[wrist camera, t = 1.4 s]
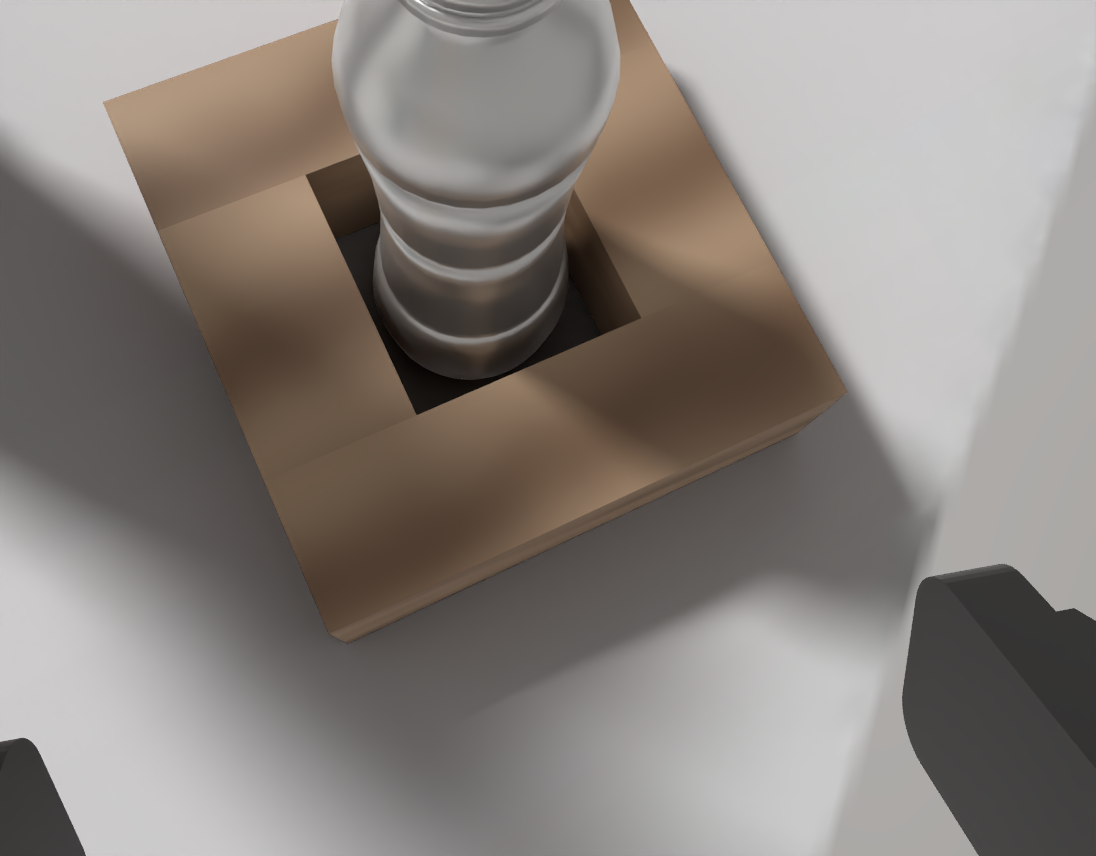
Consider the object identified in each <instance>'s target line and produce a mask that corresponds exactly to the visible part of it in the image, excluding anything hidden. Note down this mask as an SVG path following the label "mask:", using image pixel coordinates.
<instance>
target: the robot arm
mask: <svg viewBox="0 0 1096 856" xmlns="http://www.w3.org/2000/svg"><path fill="white" fill-rule="evenodd" d="M902 702H903V703H902V705H903V714H904V720H905V724H906V729H907V732H908V736H909V739H910V742H911V744H912V747H913V749H914V751H915V753H916V756H917V758H918V759H919V761H920V763H921V765H922V766H923V768H924V769H925V771H926V773H927V774H928V776H929V777H930V779H931V780H932V782H933V784H934V785H935V787H936V788H937V790H938V791H939V793H940V794H941V796H942V798H943V800H944V801H945V802H946V804H947V806H948V807H949V809H950V811H951V812H952V814H953V815H954V817H955V819H956V820H957V821H958V823H959V825H960V827H961V828H962V830H963V831H964V833H965V834H966V836H967V838H968V839H969V841H970V842H971V844H972V845H973V847H974V849H975V850H976V852H977V854H978V855H979V856H1096V621H1095V620H1093V619H1092V618H1090V617H1088V616H1086V615H1085V614H1083V613H1081V612H1080V611H1078V610H1076V609H1074V608H1073V609H1068V610H1063V611H1057V612H1056V611H1055V610H1054V609H1053V608H1052V607H1051V606H1050V605H1049V603H1048V602H1047V601H1046V600H1045V599H1044V598H1043V597H1042V596H1041V595H1040V594H1039V593H1038V591H1037V590H1036V589H1035V588H1034V587H1033V586H1032V585H1031V584H1030V583H1029V582H1028V581H1027V580H1026V578H1025V577H1024V576H1023V575H1022V574H1020V573H1019V572H1018V571H1017V570H1016V569H1014V568H1013V567H1011V566H1009V565H1005V564H998V565H993V566H987V567H982V568H976V569H971V570H965V571H960V572H955V573H949V574H943V575H937V576H932V577H928V578H925V579H924V580H923V581H922V582H921V584H920V585H919V588H918V590H917V595H916V601H915V608H914V616H913V623H912V630H911V637H910V644H909V652H908V658H907V665H906V673H905V679H904V686H903V696H902ZM0 856H86V855H85V852H84V849H83V847H82V845H81V842H80V840H79V838H78V836H77V834H76V832H75V829H74V827H73V825H72V823H71V821H70V819H69V816H68V814H67V812H66V810H65V808H64V805H63V803H62V801H61V799H60V797H59V795H58V792H57V790H56V788H55V786H54V784H53V781H52V779H51V777H50V775H49V773H48V771H47V768H46V766H45V764H44V762H43V760H42V757H41V755H40V753H39V751H38V750H37V748H36V747H35V745H34V744H33V743H32V742H31V741H30V740H28V739H26V738H19V739H13V740H8V741H2V742H0Z"/></svg>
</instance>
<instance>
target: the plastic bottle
mask: <svg viewBox="0 0 1096 856" xmlns="http://www.w3.org/2000/svg"><path fill="white" fill-rule="evenodd" d="M331 62H332V70H333V79H334V87H335V90H336V93H337V96H338V99H339V103H340V106H341V109H342V112H343V115H344V118H345V121H346V124H347V127H348V129H349V132H350V134H351V136H352V137H353V140H354V142H355V144H356V146H357V149H358V151H359V153H360V155H361V157H362V159H363V161H364V163H365V166H366V168H367V170H368V172H369V174H370V176H371V178H372V181H373V185H374V189H375V193H376V196H377V199H378V204H379V208H380V211H381V214H380V236H379V239H378V242H377V246H376V252H375V261H374V272H373V290H374V298H375V303H376V306H377V309H378V312H379V315H380V317H381V320H382V321H383V323H384V325H385V326H386V328H387V330H388V331H389V333H390V335H391V336H392V337H393V339H394V340H395V341H396V343H397V344H398V345H399V346H400V347H401V348H402V349H403V351H404V352H405V353H406V354H407V355H408V356H409V357H410V358H411V359H413V360H414V361H415V362H417V363H418V364H419V365H421V366H422V367H424V368H426V369H428V370H430V371H432V372H434V373H437V374H439V375H442V376H446V377H450V378H455V379H469V380H476V379H483V378H489V377H494V376H496V375H499V374H502V373H505V372H507V371H510V370H511V369H513V368H515V367H516V366H518V365H520V364H521V363H523V362H524V361H526V360H527V359H528V358H529V357H530V356H531V355H532V354H533V353H534V352H535V351H537V349H538V348H539V347H540V346H541V345H542V343H543V342H544V341H545V340H546V338H547V337H548V336H549V334H550V333H551V332H552V330H553V329H554V328H555V326H556V324H557V322H558V320H559V318H560V316H561V314H562V312H563V309H564V306H565V302H566V298H567V293H568V281H569V267H568V254H567V248H566V242H565V237H564V218H565V214H566V210H567V206H568V204H569V201H570V198H571V195H572V192H573V188H574V185H575V182H576V181H577V179H578V177H579V175H580V173H581V171H582V169H583V167H584V165H585V164H586V162H587V160H588V158H589V156H590V154H591V152H592V150H593V148H594V147H595V145H596V143H597V141H598V139H599V137H600V135H601V133H602V131H603V129H604V127H605V125H606V122H607V119H608V117H609V114H610V111H611V108H612V106H613V104H614V100H615V96H616V92H617V87H618V83H619V79H620V48H619V43H618V38H617V33H616V27H615V23H614V18H613V13H612V8H611V4H610V2H609V0H344V3H343V6H342V9H341V12H340V16H339V19H338V23H337V27H336V30H335V34H334V41H333V50H332V60H331Z"/></svg>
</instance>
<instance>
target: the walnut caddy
mask: <svg viewBox="0 0 1096 856" xmlns="http://www.w3.org/2000/svg"><path fill="white" fill-rule="evenodd" d="M609 2H610V4H611V8H612V13H613V18H614V23H615V27H616V33H617V38H618V43H619V48H620V79H619V83H618V87H617V92H616V96H615V100H614V104H613V106H612V108H611V111H610V114H609V117H608V119H607V122H606V125H605V127H604V129H603V131H602V133H601V135H600V137H599V139H598V141H597V143H596V145H595V147H594V148H593V150H592V152H591V154H590V156H589V158H588V160H587V162H586V164H585V165H584V167H583V169H582V171H581V173H580V175H579V177H578V179H577V181H576V182H575V185H574V188H573V192H572V195H571V198H570V201H569V204H568V206H567V210H566V214H565V218H564V237H565V242H566V248H567V254H568V267H569V273H570V275H571V277H572V279H573V281H574V283H575V285H576V287H577V289H578V291H579V293H580V295H581V297H582V299H583V300H584V302H585V304H586V306H587V308H588V310H589V312H590V314H591V316H592V318H593V320H594V322H595V324H596V326H597V328H598V330H599V332H600V334H601V336H599V337H597V338H594V339H592V340H590V341H587V342H585V343H583V344H580V345H578V346H576V347H573V348H571V349H569V350H566V351H564V352H562V353H560V354H557V355H555V356H553V357H550V358H548V359H546V360H543V361H541V362H539V363H536V364H534V365H532V366H529V367H527V368H525V369H523V370H520V371H518V372H516V373H513V374H511V375H509V376H506V377H504V378H502V379H499V380H497V381H495V382H492V383H490V384H488V385H486V386H483V387H481V388H479V389H476V390H474V391H472V392H469V393H467V394H465V395H462V396H460V397H458V398H455V399H453V400H451V401H449V402H446V403H444V404H442V405H439V406H437V407H435V408H432V409H430V410H428V411H425V412H423V413H421V414H419V415H416V413H415V411H414V408H413V406H412V404H411V402H410V400H409V398H408V396H407V393H406V391H405V389H404V387H403V385H402V383H401V380H400V378H399V376H398V374H397V372H396V370H395V367H394V365H393V363H392V361H391V359H390V357H389V355H388V352H387V350H386V348H385V346H384V344H383V342H382V339H381V337H380V335H379V333H378V331H377V329H376V326H375V324H374V322H373V320H372V318H371V316H370V314H369V311H368V309H367V307H366V305H365V303H364V301H363V298H362V296H361V294H360V292H359V290H358V288H357V285H356V283H355V281H354V279H353V277H352V275H351V272H350V270H349V268H348V266H347V264H346V262H345V260H344V257H343V255H342V253H341V251H340V249H339V247H338V244H337V242H336V240H335V239H337V238H340V237H342V236H345V235H347V234H350V233H352V232H355V231H357V230H360V229H363V228H365V227H368V226H370V225H373V224H375V223H378V222H380V214H381V211H380V208H379V204H378V199H377V196H376V193H375V189H374V185H373V181H372V178H371V176H370V174H369V172H368V170H367V168H366V166H365V163H364V161H363V159H362V157H361V155H360V153H359V151H358V149H357V146H356V144H355V142H354V140H353V137H352V136H351V134H350V132H349V129H348V127H347V124H346V121H345V118H344V115H343V112H342V109H341V106H340V103H339V99H338V96H337V93H336V90H335V87H334V79H333V70H332V62H331V60H332V50H333V41H334V34H335V30H336V27H337V23H338V19H337V20H334V21H331V22H328V23H325V24H322V25H320V26H317V27H314V28H311V29H308V30H306V31H303V32H300V33H297V34H294V35H291V36H289V37H286V38H283V39H280V40H277V41H274V42H272V43H269V44H266V45H263V46H260V47H257V48H255V49H252V50H249V51H246V52H243V53H241V54H238V55H235V56H232V57H229V58H226V59H224V60H221V61H218V62H215V63H212V64H209V65H207V66H204V67H201V68H198V69H195V70H193V71H190V72H187V73H184V74H181V75H178V76H176V77H173V78H170V79H167V80H164V81H161V82H159V83H156V84H153V85H150V86H147V87H144V88H142V89H139V90H136V91H133V92H130V93H128V94H125V95H122V96H119V97H116V98H113V99H111V100H108V101H105V102H103V104H104V106H105V108H106V111H107V113H108V116H109V118H110V120H111V123H112V125H113V127H114V130H115V132H116V134H117V137H118V139H119V141H120V144H121V146H122V148H123V151H124V153H125V156H126V158H127V160H128V163H129V165H130V167H131V170H132V172H133V174H134V177H135V179H136V181H137V184H138V186H139V188H140V191H141V193H142V196H143V198H144V200H145V203H146V205H147V207H148V210H149V212H150V214H151V217H152V219H153V221H154V224H155V226H156V229H157V231H158V233H159V236H160V238H161V240H162V243H163V245H164V247H165V250H166V252H167V254H168V257H169V259H170V261H171V264H172V266H173V269H174V271H175V273H176V276H177V278H178V280H179V283H180V285H181V287H182V290H183V292H184V294H185V297H186V299H187V302H188V304H189V306H190V309H191V311H192V313H193V316H194V318H195V320H196V323H197V325H198V327H199V330H200V332H201V334H202V337H203V339H204V342H205V344H206V346H207V349H208V351H209V353H210V356H211V358H212V360H213V363H214V365H215V367H216V370H217V372H218V374H219V377H220V379H221V382H222V384H223V386H224V389H225V391H226V393H227V396H228V398H229V400H230V403H231V405H232V407H233V410H234V412H235V415H236V417H237V419H238V422H239V424H240V426H241V429H242V431H243V433H244V436H245V438H246V440H247V443H248V445H249V447H250V450H251V452H252V455H253V457H254V459H255V462H256V464H257V466H258V469H259V471H260V473H261V476H262V478H263V480H264V483H265V485H266V488H267V490H268V492H269V495H270V497H271V499H272V502H273V504H274V506H275V509H276V511H277V513H278V516H279V518H280V520H281V523H282V525H283V528H284V530H285V532H286V535H287V537H288V539H289V542H290V544H291V546H292V549H293V551H294V553H295V556H296V558H297V560H298V563H299V565H300V568H301V570H302V572H303V575H304V577H305V579H306V582H307V584H308V586H309V589H310V591H311V593H312V596H313V598H314V601H315V603H316V605H317V608H318V610H319V612H320V615H321V617H322V619H323V622H324V624H325V626H326V629H327V631H328V633H329V634H330V635H332V636H334V637H336V638H338V639H340V640H342V641H343V642H345V643H347V644H348V643H350V642H352V641H355V640H357V639H359V638H361V637H363V636H365V635H367V634H369V633H372V632H374V631H376V630H378V629H380V628H382V627H384V626H387V625H389V624H391V623H393V622H395V621H397V620H399V619H401V618H404V617H406V616H408V615H410V614H412V613H414V612H416V611H418V610H421V609H423V608H425V607H427V606H429V605H431V604H433V603H436V602H438V601H440V600H442V599H444V598H446V597H448V596H450V595H453V594H455V593H457V592H459V591H461V590H463V589H465V588H468V587H470V586H472V585H474V584H476V583H478V582H480V581H482V580H485V579H487V578H489V577H491V576H493V575H495V574H497V573H500V572H502V571H504V570H506V569H508V568H510V567H512V566H514V565H517V564H519V563H521V562H523V561H525V560H527V559H529V558H532V557H534V556H536V555H538V554H540V553H542V552H544V551H546V550H549V549H551V548H553V547H555V546H557V545H559V544H561V543H564V542H566V541H568V540H570V539H572V538H574V537H576V536H578V535H581V534H583V533H585V532H587V531H589V530H591V529H593V528H596V527H598V526H600V525H602V524H604V523H606V522H608V521H610V520H613V519H615V518H617V517H619V516H621V515H623V514H625V513H628V512H630V511H632V510H634V509H636V508H638V507H640V506H642V505H645V504H647V503H649V502H651V501H653V500H655V499H657V498H660V497H662V496H664V495H666V494H668V493H670V492H672V491H674V490H677V489H679V488H681V487H683V486H685V485H687V484H689V483H692V482H694V481H696V480H698V479H700V478H702V477H704V476H706V475H709V474H711V473H713V472H715V471H717V470H719V469H721V468H724V467H726V466H728V465H730V464H732V463H734V462H736V461H738V460H741V459H743V458H745V457H747V456H749V455H751V454H753V453H756V452H758V451H760V450H762V449H764V448H766V447H768V446H770V445H773V444H775V443H777V442H779V441H781V440H783V439H785V438H788V437H790V436H792V435H794V434H796V433H798V432H799V431H800V430H802V429H803V428H804V427H805V426H807V425H808V424H809V423H810V422H812V421H813V420H814V419H815V418H816V417H818V416H819V415H820V414H821V413H823V412H824V411H825V410H826V409H828V408H829V407H830V406H831V405H833V404H834V403H835V402H836V401H838V400H839V399H840V398H841V397H842V396H844V395H845V394H846V393H847V390H846V388H845V386H844V384H843V383H842V381H841V379H840V377H839V375H838V374H837V372H836V370H835V368H834V366H833V365H832V363H831V361H830V359H829V357H828V356H827V354H826V352H825V350H824V349H823V347H822V345H821V343H820V341H819V340H818V338H817V336H816V334H815V332H814V331H813V329H812V327H811V325H810V323H809V322H808V320H807V318H806V316H805V314H804V313H803V311H802V309H801V307H800V306H799V304H798V302H797V300H796V298H795V297H794V295H793V293H792V291H791V289H790V288H789V286H788V284H787V282H786V280H785V279H784V277H783V275H782V273H781V271H780V270H779V268H778V266H777V264H776V262H775V261H774V259H773V257H772V255H771V254H770V252H769V250H768V248H767V246H766V245H765V243H764V241H763V239H762V237H761V236H760V234H759V232H758V230H757V228H756V227H755V225H754V223H753V221H752V219H751V218H750V216H749V214H748V212H747V211H746V209H745V207H744V205H743V203H742V202H741V200H740V198H739V196H738V194H737V193H736V191H735V189H734V187H733V185H732V184H731V182H730V180H729V178H728V176H727V175H726V173H725V171H724V169H723V168H722V166H721V164H720V162H719V160H718V159H717V157H716V155H715V153H714V151H713V150H712V148H711V146H710V144H709V142H708V141H707V139H706V137H705V135H704V133H703V132H702V130H701V128H700V126H699V125H698V123H697V121H696V119H695V117H694V116H693V114H692V112H691V110H690V108H689V107H688V105H687V103H686V101H685V99H684V98H683V96H682V94H681V92H680V90H679V89H678V87H677V85H676V83H675V82H674V80H673V78H672V76H671V74H670V73H669V71H668V69H667V67H666V65H665V64H664V62H663V60H662V58H661V56H660V55H659V53H658V51H657V49H656V47H655V46H654V44H653V42H652V40H651V39H650V37H649V35H648V33H647V31H646V30H645V28H644V26H643V24H642V22H641V21H640V19H639V17H638V15H637V13H636V12H635V10H634V8H633V6H632V4H631V3H630V1H629V0H609Z"/></svg>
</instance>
